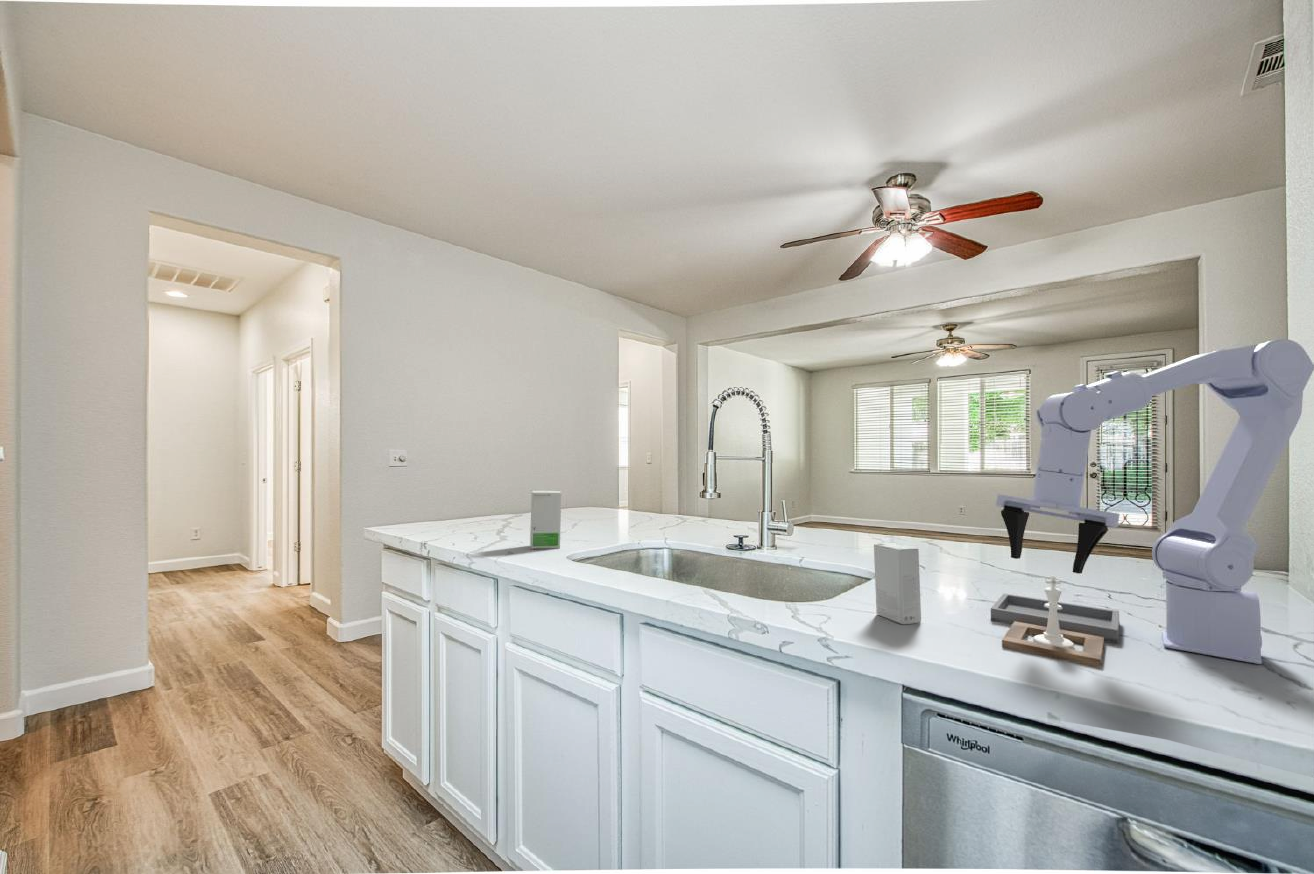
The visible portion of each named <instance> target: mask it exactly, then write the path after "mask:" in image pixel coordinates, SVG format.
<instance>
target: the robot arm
mask: <svg viewBox="0 0 1314 874" xmlns="http://www.w3.org/2000/svg"><path fill="white" fill-rule="evenodd" d="M1313 373H1314V363H1313V361H1312V359H1311V358H1310V356H1309V354H1308V352H1306V350H1305V348H1304V347H1303V346H1302V345H1301V344H1300V343H1298V342H1296V341H1294V340H1292V339H1289V338H1277V339H1276V338H1275V339H1272V340H1268V341H1266V342H1262V343H1256V344H1255V343H1254V344H1249V345H1245V346H1239V347H1233V348H1227V349H1226V348H1225V349H1224V348H1222V349H1221V348H1220V349H1218V350H1214V351H1211V352H1205V353H1200V354H1195V355H1192V356H1189V357H1187V358H1184V359H1182V360H1179V361H1177V362H1173V363H1171V364H1169V365H1166V366H1163V367H1161V368H1158V369H1155V370H1153V371H1150V372H1147V373H1145V374H1143V375H1140V374H1138V373H1136V372H1135V373H1134V372H1131V371H1125V372H1122V371H1121V370H1116V371H1111V372H1109V373H1106V374H1104V375H1105V378H1104V379H1102V380H1099V381H1096V382H1092V383H1091V384H1087V385H1086V383H1082V384H1077V385H1075V386H1073V391H1071V392H1067V393H1066V392H1064V393H1059V394H1053V395H1051V396H1049V397H1047V398H1046V399H1045V400H1044V401H1043V402H1042V403H1041V406H1040V408H1039V409H1036V411H1035V413H1036V414H1035V415H1036V416H1035V417H1036V420H1037V422H1038V424H1039V425H1040V428H1041V435H1040V437H1041V440H1040V445H1039V452H1038V458H1037V459H1038V460H1037V463H1036V464H1037V465H1036V472H1035V479H1034V485H1033V490H1032V497H1031V498H1026V497H1025V498H1024V497H1020V496H1019V497H1018V496H1012V495H1007V494H1001V493H999V494H997V498H996V505H995V507H1000V508H1003V509H1001V510H1000V513H1001V517H1002V520H1003V522H1004V524H1005V525H1004V526H1005V528H1006V531H1007V535H1008V540H1009V546H1010V558H1012V559H1015V560H1017V559H1021V556H1022V552H1023V543H1024V534H1025V531H1026V527H1027V524H1028V523H1027V522H1028V520H1029V517H1030V513H1033V514H1040V515H1046V516H1051V517H1056V518H1063V519H1068V520H1074V521H1079V523H1078V533H1077V544H1076V545H1077V546H1076V550H1075V556H1074V561H1073V565H1072V573H1074V574H1078V575H1079V574H1083V570H1084V568H1085V565H1086V563H1087V560H1088V559H1089V557H1090V555H1091V553H1092V552H1093V550H1094V549H1095V547H1096V546H1097V544H1098V543H1099V542H1100V540H1102V538H1103V537H1104V536H1106V534H1107V532H1108V531H1109V528H1108V527H1111V528H1118V526H1119V519H1120V516H1121V515H1120V513H1116V512H1111V511H1105V510H1098V509H1093V508H1086V507H1081V505H1080V504H1081V499H1082V493H1083V486H1084V480H1085V473H1086V467H1087V460H1088V455H1089V448H1090V441H1091V437H1092V431H1095V430H1097V429H1098V428H1100V426H1102V424H1103V423H1104V422H1107V421H1110V420H1113V419H1116V418H1120V417H1122V416H1126V415H1127V414H1131V413H1133V412H1136V411H1140V410H1143V409H1145V408H1146V407H1148V406H1149V404H1150V403H1151V400H1152V397H1153V396H1156V395H1160V394H1164V393H1166V392H1170V391H1173V390H1176V389H1179V388H1183V387H1186V386H1189V385H1192V384H1197V385H1206V386H1207V387H1208V388H1209V389H1210V390H1211V391H1212V393H1214V394H1216V396H1218V397H1219V398H1220V399H1221V400H1222V401H1223V403H1225V404H1227V405H1228V407H1230V408H1231V409H1233V410H1234V411H1236V412H1237V414H1238V416H1239V419H1238V421H1237V422H1236V424H1235V426H1234V429H1233V430H1232V432H1231V434H1230V435H1229V436H1230V437H1229V439H1228V440H1227V442H1226V445H1225V446H1224V449H1223V450H1222V452H1221V455H1219V456H1220V457H1219V459H1218V461H1217V462H1216V465H1215V466H1214V469H1213V471H1212V473H1211V474H1210V476H1209V479H1208V481H1207V483H1206V485H1205V487H1204V488H1203V491H1202V492H1201V495H1200V497H1199V498H1198V501H1197V503H1196V504H1195V506H1194V508H1193V511H1192V512H1191V513H1190V514H1188V515H1185V516H1183V517H1181V518H1179V519H1177V520H1175V521H1174V522H1172V523H1171V525H1170V527H1169V529H1168V530H1167V532H1165V533H1164V534H1163V535H1162V536H1160V537H1159V538H1158V539H1156V540H1155V542H1154V543H1153V546H1152V549H1151V558H1152V561H1153V563H1154V564H1155V565H1156V567H1157V568H1158V569H1159V570H1160V571H1162V578H1163V579H1165V603H1166V604H1165V612H1166V613H1165V618H1166V619H1165V624H1166V626H1165V627H1166V628H1165V629H1166V630H1161V637H1162V642H1163V647H1165V648H1167V649H1173V650H1179V651H1184V652H1191V653H1196V654H1200V655H1206V656H1207V655H1208V656H1213V657H1218V658H1223V659H1230V660H1235V661H1241V662H1245V663H1251V664H1252V663H1253V664H1258V665H1262V664H1263V660H1262V648H1263V639H1262V634H1261V632H1262V629H1261V626H1262V625H1261V621H1262V620H1261V606H1260V600H1259V599H1260V598H1259V596H1258V593H1256V592H1255V591H1249V590H1242V587H1243V586H1245V585H1246V584H1247V583H1248V582H1249V581H1250V579H1252V577H1253V574H1254V569H1255V567H1254V565H1255V564H1254V556H1255V553H1256V551H1257V549H1258V547H1259V546H1258V544H1257V542H1256V541H1255V540H1254V538H1253V537H1252V536H1251V535H1250V534H1249V533H1248V532H1247V531H1246V529H1245V528H1246V527H1247V525H1248V522H1249V521H1250V518H1251V517H1252V515H1253V512H1254V510H1255V508H1256V506H1257V504H1258V502H1259V501H1260V498H1261V497H1262V495H1263V492H1264V491H1265V488H1266V487H1267V484H1268V482H1269V481H1270V478H1271V477H1272V475H1273V473H1274V470H1275V469H1276V466H1277V465H1278V462H1279V460H1280V459H1281V456H1282V455H1283V452H1284V451H1285V449H1286V447H1287V444H1288V443H1289V441H1290V439H1291V437H1292V434H1293V433H1294V431H1295V429H1296V427H1297V425H1298V422H1299V420H1300V419H1301V415H1302V413H1303V399H1304V398H1303V397H1304V390H1305V389H1306V386H1307V384H1308V382H1309V380H1310V378H1311V376H1312V374H1313ZM1041 508H1045V509H1053V510H1057V511H1058V510H1059V511H1065V512H1067V514H1064V513H1057V512H1052V511H1046V510H1041Z"/></svg>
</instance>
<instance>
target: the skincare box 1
mask: <svg viewBox="0 0 1314 874" xmlns="http://www.w3.org/2000/svg"><path fill="white" fill-rule="evenodd" d="M530 500H531V501H530V507H531V508H530V529H529V530H530V532H529V533H530V535H529V536H530V537H529V538H530V539H529V541H530V542H529V544H530V545H529V546H530V549H531V550H533V549H535V550H536V549H560V548H561V524H562V523H561V516H562V513H561V512H562V492H561V491H559V490H558V491H557V490H531V499H530Z"/></svg>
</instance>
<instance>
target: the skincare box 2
mask: <svg viewBox="0 0 1314 874" xmlns="http://www.w3.org/2000/svg"><path fill="white" fill-rule="evenodd" d="M919 550H920V549H919V547H918V548H917V547H913V546H909V545H904V544H901V543H900V544H898V543H895V542H883V543H875V544H873V556H874V557H873V558H874V560H873V561H874V581H875V582H874V583H875V584H874V585H875V606H876V608H875V611H876V615H878V616H880V617H883V618H885V619H888V620H891V621H892V622H896V623H898V624H900V625H911V624H917V623H922V609H921V608H922V607H921V604H922V603H921V584H920V583H921V582H920V580H921V577H920V558H919V557H920V555H919V554H920V553H919V552H920V551H919Z"/></svg>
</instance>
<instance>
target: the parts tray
mask: <svg viewBox="0 0 1314 874" xmlns="http://www.w3.org/2000/svg"><path fill="white" fill-rule="evenodd" d="M1048 602H1049V601H1048V599H1041V598H1035V597H1030V596H1023V595H1022V596H1021V595H1016V594H1009V593H1003V594H1001V596H999V598H998V599H997V601H995V603H994V604H993V605H992V607H991V608H990V621H991V622H996V623H1003V624H1009V625H1012V624H1013V623H1014V621H1016V622H1022V623H1027V624H1033V625H1038V626H1044V627H1047V623H1048V616H1049V608H1046V607H1044V605H1045V604H1046V603H1048ZM1057 604H1058V605H1060V606H1062V609H1060V610H1057V613H1058V621H1059V628H1060V629H1061V630H1066V631H1072V632H1077V633H1083V634H1088V635H1094V636H1100V637H1104V643H1105V642H1106V643H1110V644H1111V643H1112V644H1117V645H1118V644H1119V635H1120V632H1119V631H1120V611H1118V610H1113V609H1107V608H1100V607H1096V606H1095V607H1094V606H1089V605H1082V604H1075V603H1069V602H1063V601H1062V602H1061V601H1058V603H1057Z"/></svg>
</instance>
